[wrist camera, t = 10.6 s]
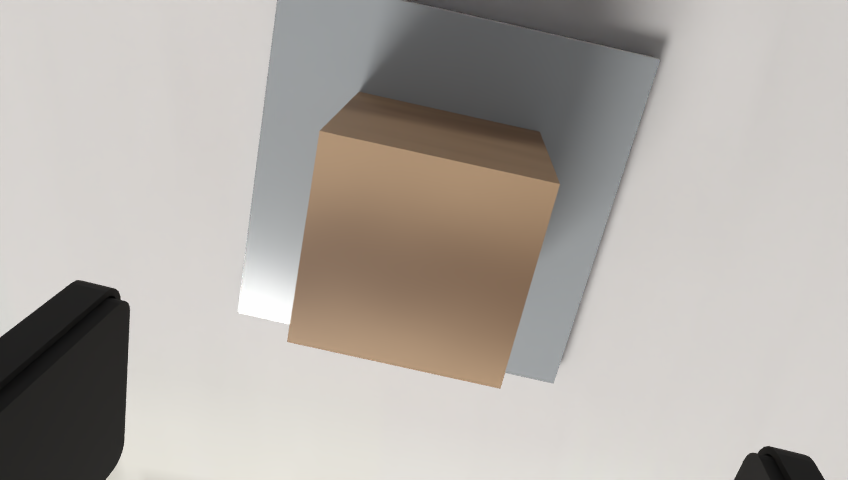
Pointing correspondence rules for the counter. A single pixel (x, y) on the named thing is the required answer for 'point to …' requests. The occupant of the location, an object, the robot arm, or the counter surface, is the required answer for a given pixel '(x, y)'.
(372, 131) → the walnut cube
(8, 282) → the counter surface
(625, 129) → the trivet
